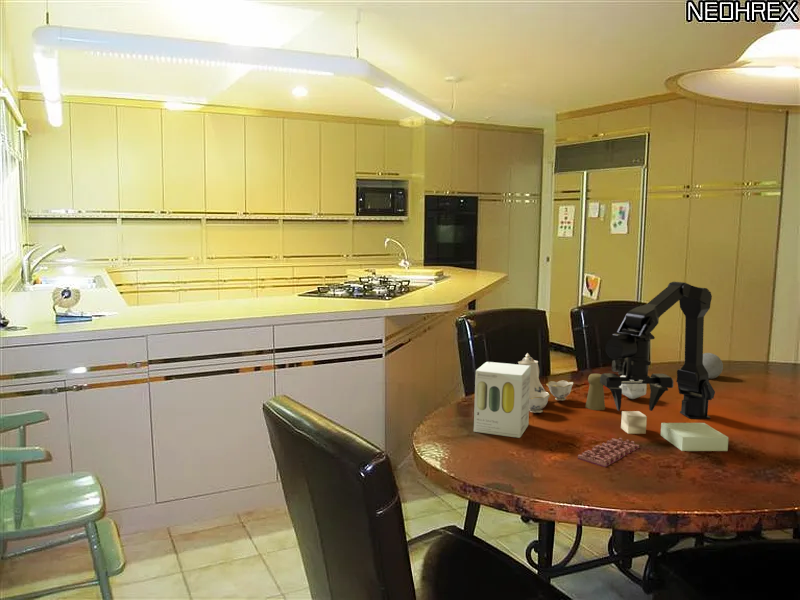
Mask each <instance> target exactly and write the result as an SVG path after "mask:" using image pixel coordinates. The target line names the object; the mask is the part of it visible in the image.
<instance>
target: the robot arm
mask: <svg viewBox="0 0 800 600" xmlns="http://www.w3.org/2000/svg"><path fill="white" fill-rule="evenodd" d="M712 297H713V295H712V292H711V291H710V290H709V289H708V288H707V287H700V286H699V287H698V286H694V285H691V284H689V283H687V282H683V281H682V282H681V281H670V282H669V283H668V285H667V287H665V288H664V289H663V290H662V291H661V292H659V293H658V294H657V295H655V297H653V298H652V299H650V300H649V301H648V302H647V303H645V304H643V305H638V306H636V307H634V308H632V309H630V310H629V311H627V313H626V314H625V316H624V318H623V320H622V322H621V324H620V326H619V327H618V329H617V331H616V333H612V335H611V338H609V339H608V341H607V342H606V344H605V353H606V355H607V357H609V358H610V359H612V362H611V371H612V372H613V373H612V372H611V373H609V372H608V373H606V372H605V373H602V375H601V377H600V383H601V384H603V387H605V388H607V389H609V390H610V392H611V395H612V397H613V401H614V404H615V407H616V410H617V411H618V412H620V411H621V407H622V395H623V394H622V389H621V388H620V386H621V384H647V385H648V384H649V389H650V393H649V403H648V409H649V411H650V412H653V411H654V409H655V407H656V406H657V403H658V402H659V400H660V399H661V397H662V396H663V395H664V393H665V392H667V391H669V389H673V388H674V379H673V378H672V376H670V375H668V374H666V373H651V375H648V373H649V366H651V363H652V362H651V361H650V359H649V358H650V341H651V340H655V338H656V337H655V335H653V334H652V333H651V332H653V330H654V329H655V328H657V326H658V324H659V319H660V317H662V315H664V314H665V313H666V312H667V311H668V310H669V309H671V308H672V307H673V306H674V305H675V304H676V303H678V302H679V308H680V310H681V311H682V313H683V315H684V317H685V318H684V319H685V321H684V323H685V324H684V325H685V328H684V361H683V362H684V363H683V365H681V367H680V368H678V369H677V370H676V375H677V377H676V381H675V382H676V383H677V389H678V394H679V395H683V399H681V407H680V408H681V409H680V411H679V413H680V414H681V415H683V416H684V417H686V418H688V419H689V420H690V419H694V420H695V419H698V420H699V419H700V420H701V419H702V420H703V419H704V420H705V419H709V420H710V419H711V416H709V415H708V412H709V410H708V409H709V401H712V399H715V398H714V397H715V394H716V391H715V389H714V388H713V386H712V384H711V383H710V379H709V376H708V372H707V370H706V369H705V367H704V365H703V354H704V327H705V326H704V323H705V322H704V321H705V320H704V319H705V316H706V314H707V313H708V312H709V310H710V309H711V305H712V304H711V303H712V299H713V298H712ZM621 359H624V361H623V362H621ZM614 372H616V373H617V372H618V373H617V374H616V373H614ZM622 375H623V376H626V377H620V376H622ZM630 380H634V381H630ZM639 380H643V381H639Z"/></svg>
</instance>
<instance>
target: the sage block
mask: <svg viewBox="0 0 800 600" xmlns="http://www.w3.org/2000/svg"><path fill="white" fill-rule="evenodd" d="M660 437H662V438H663V439H664V440H666V441H667V442H669V444H672V446H674V447H675V448H677V449H678V450H680V451H681V452H685V451H686V452H712V451H713V452H728V449H729V436H727V435H726V434H724V433H722V432H720V431H718V430H717V429H715V428H713V427H712V426H710V425H709V424H707V423H705V422H661V424H660Z"/></svg>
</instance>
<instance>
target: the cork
mask: <svg viewBox="0 0 800 600" xmlns="http://www.w3.org/2000/svg"><path fill="white" fill-rule="evenodd" d="M602 374H603V373H602ZM602 374H600V373H590V374H589V375H588V378H587V382H588V384H589V387H588V392H587V396H586V401H585V406H584V407H585V409H588V410H592V411H604V410H606V405H605V404H606V403H605V389H604V385H603V384H601V383H600V377H601V375H602Z"/></svg>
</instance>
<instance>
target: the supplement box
mask: <svg viewBox="0 0 800 600" xmlns="http://www.w3.org/2000/svg"><path fill="white" fill-rule="evenodd" d="M530 371H531V366H528V365H519V364H517V363H516V364H515V363H506V362H494V361H486V362H484V363H483V364H482V365H481V366H479V367H478V368H477V369H475V379H474V385H475V386H474V406H473V407H474V412H473V416H474V418H473V432H474V433H475V432H476V433H481V434H488V435H496V436H503V437H511V438H517V439H520V438H521V437H522V436H523V434H524V432H525V431H526V429H527V428H528V427H529V425H530V424H529V420H530V419H529V414H530V411H529V394H530Z"/></svg>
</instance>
